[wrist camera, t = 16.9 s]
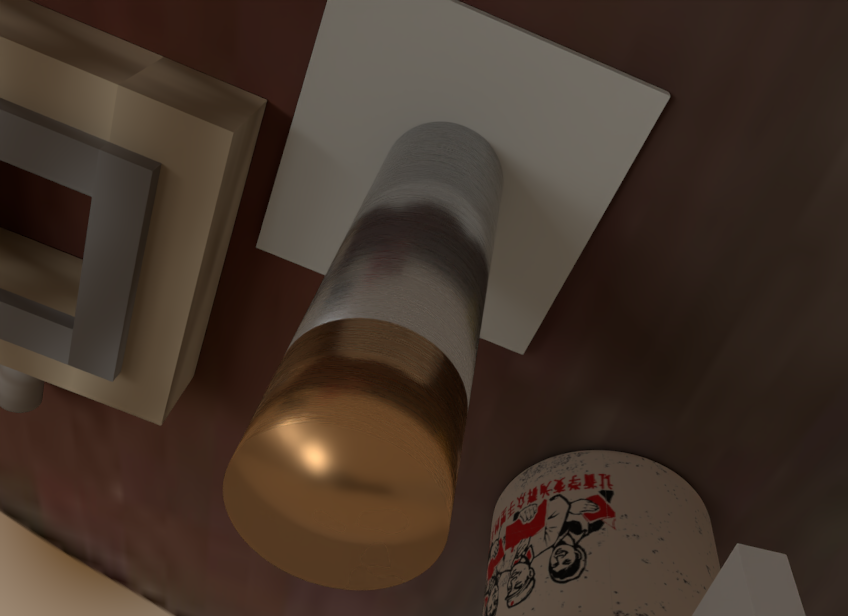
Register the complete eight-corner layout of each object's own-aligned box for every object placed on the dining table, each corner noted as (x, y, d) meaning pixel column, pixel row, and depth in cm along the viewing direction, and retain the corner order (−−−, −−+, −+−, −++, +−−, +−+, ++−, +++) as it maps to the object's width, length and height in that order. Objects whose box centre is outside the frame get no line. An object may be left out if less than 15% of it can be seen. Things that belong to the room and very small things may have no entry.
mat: (259, 242, 27) (255, 247, 27) (344, -50, 22) (341, -47, 22) (523, 348, 28) (522, 354, 28) (669, 92, 23) (670, 96, 22)
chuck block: (-102, 320, 32) (-171, 373, 29) (-107, -57, 24) (-205, -38, 21) (179, 428, 33) (140, 490, 30) (267, 99, 25) (226, 140, 22)
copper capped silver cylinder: (393, 108, 24) (228, 398, 12) (516, 137, 24) (471, 458, 12) (374, 219, 26) (217, 559, 14) (487, 246, 26) (425, 611, 14)
